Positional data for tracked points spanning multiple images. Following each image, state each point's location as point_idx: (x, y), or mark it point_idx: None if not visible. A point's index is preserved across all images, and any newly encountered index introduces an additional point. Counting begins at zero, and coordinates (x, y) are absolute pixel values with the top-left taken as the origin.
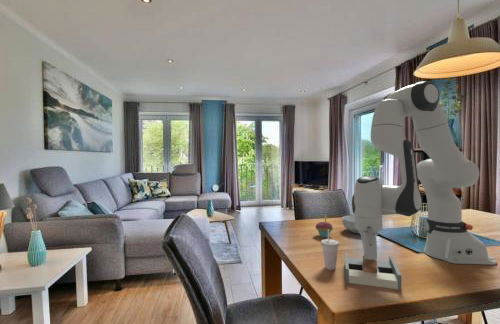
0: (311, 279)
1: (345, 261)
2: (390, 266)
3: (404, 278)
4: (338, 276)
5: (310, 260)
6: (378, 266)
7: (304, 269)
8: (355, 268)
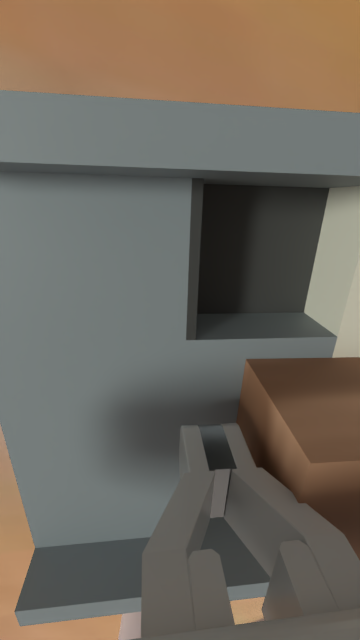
0: None
1: None
2: (146, 189)
3: (232, 52)
4: None
5: (94, 629)
6: (183, 331)
7: None
8: None
